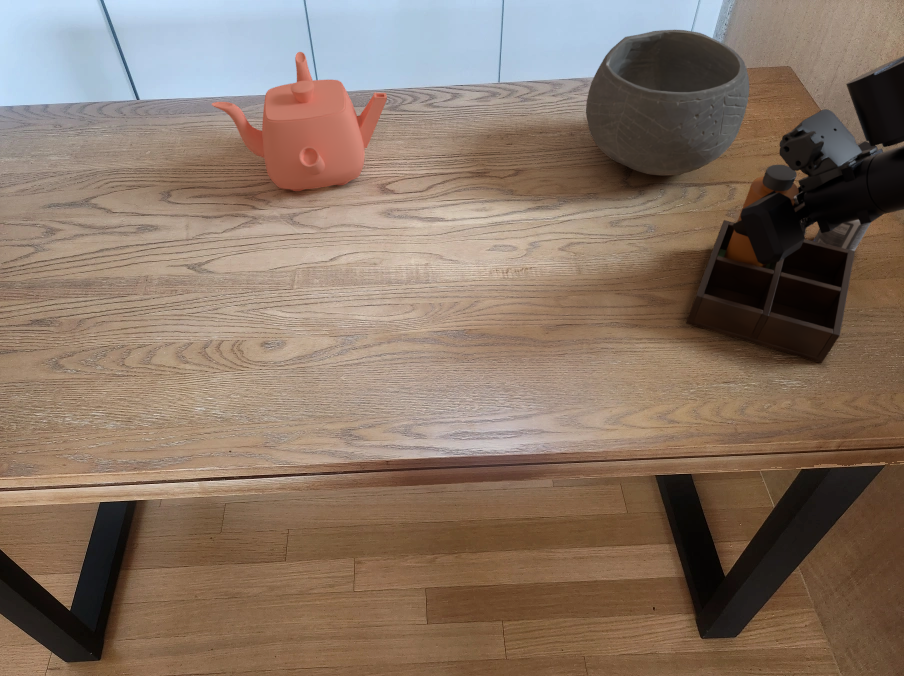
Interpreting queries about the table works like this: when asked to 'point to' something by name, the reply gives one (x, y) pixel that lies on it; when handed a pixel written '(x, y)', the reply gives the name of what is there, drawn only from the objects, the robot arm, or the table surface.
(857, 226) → the pill bottle
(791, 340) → the rack
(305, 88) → the teapot
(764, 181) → the amber bottle
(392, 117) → the table surface
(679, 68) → the bowl
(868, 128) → the robot arm
